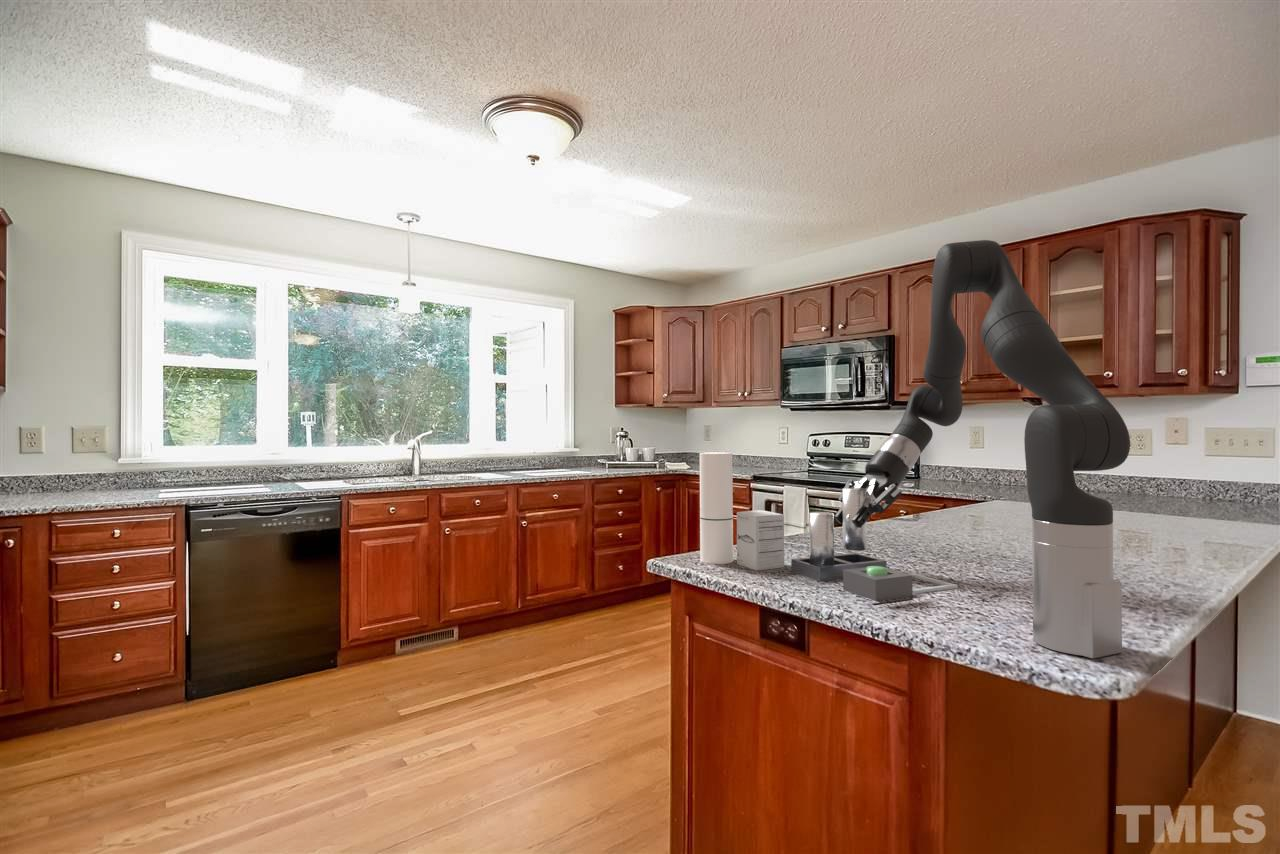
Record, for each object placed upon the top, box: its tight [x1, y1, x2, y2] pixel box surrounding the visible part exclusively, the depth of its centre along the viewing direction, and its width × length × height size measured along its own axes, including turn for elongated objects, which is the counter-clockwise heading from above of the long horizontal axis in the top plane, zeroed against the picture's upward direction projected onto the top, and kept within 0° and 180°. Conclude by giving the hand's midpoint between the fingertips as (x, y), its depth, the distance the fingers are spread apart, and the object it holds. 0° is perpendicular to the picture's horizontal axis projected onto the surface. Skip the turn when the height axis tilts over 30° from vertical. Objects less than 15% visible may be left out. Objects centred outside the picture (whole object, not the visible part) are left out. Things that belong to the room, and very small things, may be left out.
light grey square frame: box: [908, 572, 958, 595], centre depth 115 cm, size 10×10×2 cm
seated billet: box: [809, 511, 835, 566], centre depth 123 cm, size 5×5×12 cm
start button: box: [867, 566, 888, 576], centre depth 109 cm, size 3×3×3 cm
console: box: [842, 567, 914, 606], centre depth 109 cm, size 8×8×5 cm
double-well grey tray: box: [790, 552, 888, 583], centre depth 125 cm, size 9×16×4 cm, turn 112°
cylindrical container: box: [699, 451, 734, 565], centre depth 137 cm, size 7×7×25 cm
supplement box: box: [736, 509, 785, 571], centre depth 132 cm, size 7×7×13 cm
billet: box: [841, 487, 868, 552], centre depth 126 cm, size 5×5×12 cm
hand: (847, 522), depth 125 cm, fingers closed on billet, 4 cm apart
